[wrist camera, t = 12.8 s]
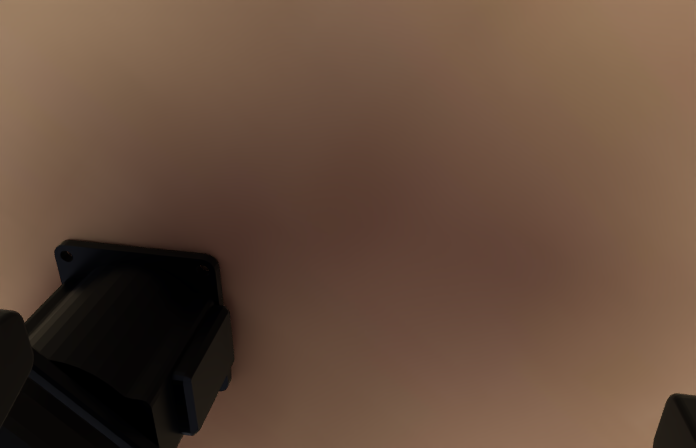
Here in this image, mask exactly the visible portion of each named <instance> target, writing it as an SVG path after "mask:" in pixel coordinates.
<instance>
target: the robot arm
mask: <svg viewBox="0 0 696 448" xmlns="http://www.w3.org/2000/svg"><path fill="white" fill-rule="evenodd" d="M67 251H68V252H69V253H71V255H72V256H70V255H69V254H68V253H67ZM54 252H55V259H56V262H57V266H58V270H59V274H60V278H61V282H62V285H61V286H60V287H59V288H58V289H57V290H56V291H55V292H54V293H53V294H52V295H51V296H50V297H49V298H48V299H47V300H46V301H45V302H44V303H43V304H42V305H41V306H40V307H39V308H38V309H37V310H36V312H35V313H34V314H33V315H32V316H31V317H30V318H29V319H28V320H27V321H26V322H25V323H24V320H23V318H22V316H21V315H20V314H19V313H18V312H16V311H11V310H3V309H0V448H177V446H178V444H179V443H180V441H181V439H182V437H183V435H190V436H193V435H195V434H196V433H197V432H198V431H199V430H200V429H201V427H202V425H203V423H204V420H205V418H206V416H207V414H208V412H209V410H210V408H211V406H212V404H213V402H214V400H215V398H216V396H217V394H218V392H219V391H224V390H226V389H227V387H228V385H229V383H230V381H231V369H230V368H231V366H232V364H233V362H234V349H233V340H232V330H231V321H230V312H229V310H228V309H227V308H226V306H224V305H223V296H222V287H221V278H220V269H219V264H218V262H217V260H216V259H215V258H214V257H212V256H211V255H208V254H203V253H193V252H183V251H173V250H163V249H154V248H144V247H134V246H124V245H114V244H104V243H95V242H85V241H75V240H65V241H63V242H62V243H61V244H60V245H58V246H57V247H56V249H55V251H54ZM201 265H204V266H206V267H207V268H208V269H209V271H206V270H204V269H203V268H201ZM653 448H696V396H695V395H687V394H679V393H675V394H672V395H670V397H669V398H668V399H667V402H666V404H665V407H664V410H663V413H662V416H661V419H660V422H659V425H658V428H657V431H656V434H655V437H654V442H653Z"/></svg>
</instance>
